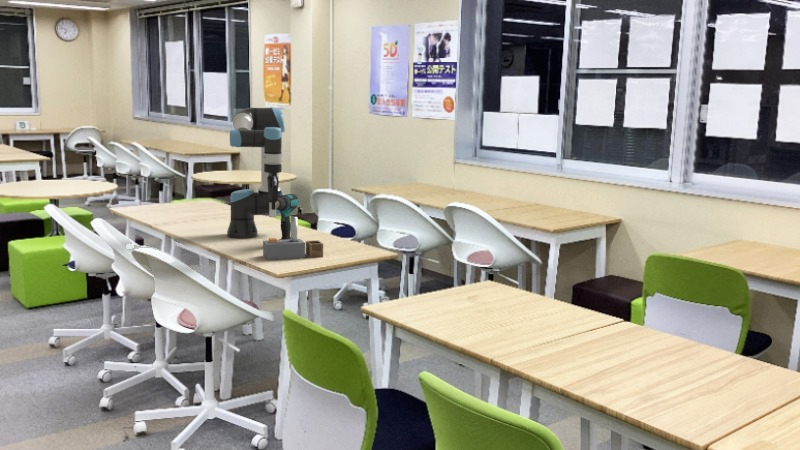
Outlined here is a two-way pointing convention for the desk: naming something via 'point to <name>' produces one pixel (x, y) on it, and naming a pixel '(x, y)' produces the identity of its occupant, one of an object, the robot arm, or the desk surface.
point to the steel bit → (293, 229)
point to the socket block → (284, 249)
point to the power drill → (286, 212)
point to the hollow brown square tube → (314, 248)
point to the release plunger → (272, 240)
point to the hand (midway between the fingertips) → (272, 216)
